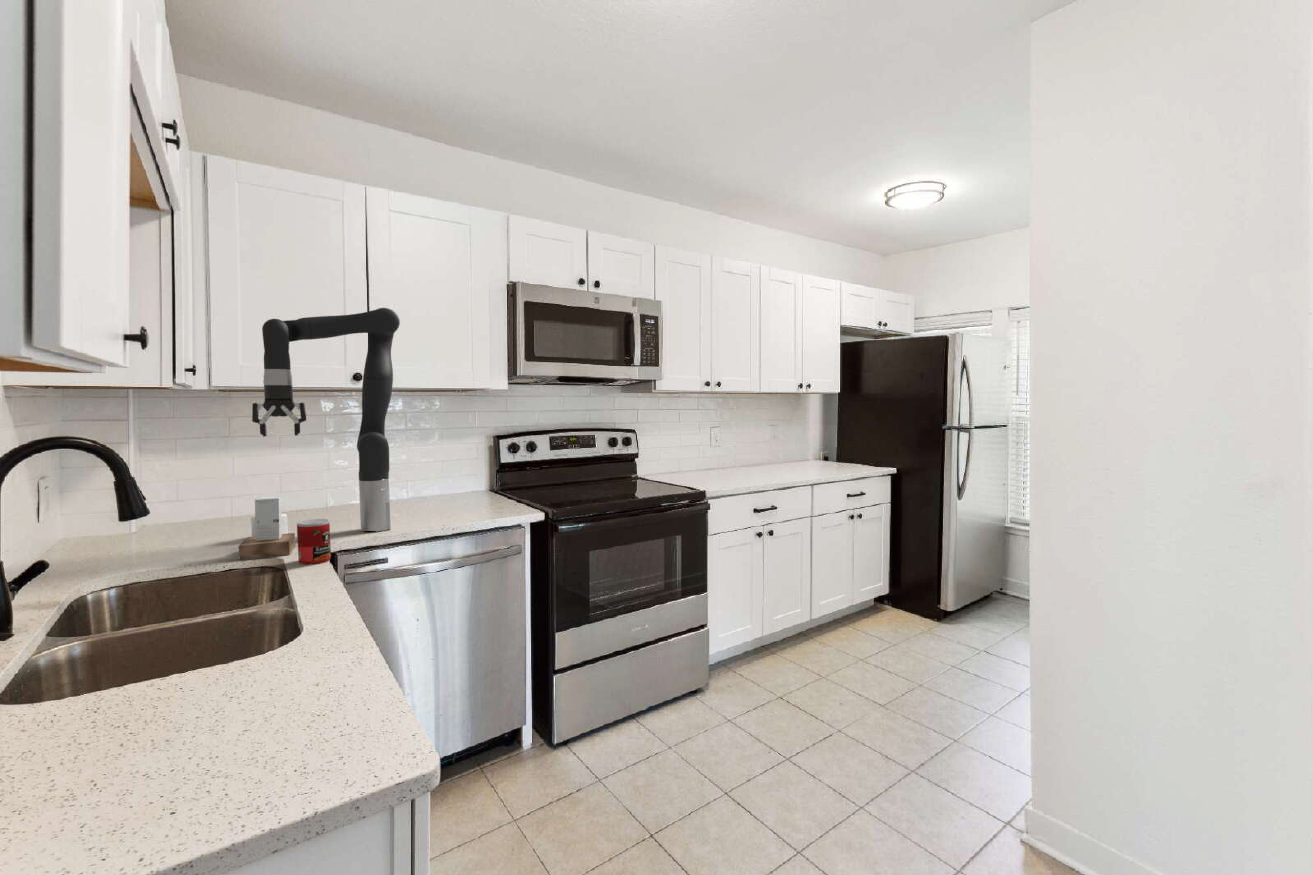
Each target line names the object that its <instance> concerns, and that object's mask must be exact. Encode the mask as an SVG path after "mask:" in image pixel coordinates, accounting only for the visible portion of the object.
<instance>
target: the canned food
mask: <svg viewBox="0 0 1313 875" xmlns="http://www.w3.org/2000/svg"><path fill="white" fill-rule="evenodd" d="M296 534H297V535H296V536H297V538H296V539H297V555H298V557H297V558H298V562H299V564H302V565H309V566H310V565H317V564H318V565H319V564H324V563H326V562H328V561H330V560H331V557H332V550H331V549H332V548H331V547H332V546H331V526H330V520H329V519H326V518H312V519H305V520H300V521H298V522H296Z"/></svg>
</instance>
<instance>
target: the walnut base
mask: <svg viewBox="0 0 1313 875" xmlns="http://www.w3.org/2000/svg"><path fill="white" fill-rule="evenodd" d="M295 547H296V534H295V532H290V533H289V532H288V534H282V536H281V538H280V539H275V540H261V541H256V536H252V535H251V536H247V537H245V539H243V541H241V543H240V544H239V545H238V559H239V561H242V560H251V559H252V560H253V559H261V558H263V559H264V558H272V557H271V556H274V557H283V556H290V555H291V553H292V552H293V551H294V548H295Z"/></svg>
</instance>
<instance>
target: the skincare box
mask: <svg viewBox="0 0 1313 875" xmlns="http://www.w3.org/2000/svg"><path fill="white" fill-rule="evenodd" d="M254 510H255V511H254V514H255V515H254V517H255V528H256V541H261V540H275V539H280V538H281V536H282V528H281V514H282V497H281V496H278V495H277V496H259V497H258V496H257V497H256V498H255V499H254Z"/></svg>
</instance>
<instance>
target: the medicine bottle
mask: <svg viewBox="0 0 1313 875" xmlns="http://www.w3.org/2000/svg"><path fill="white" fill-rule="evenodd" d="M250 521H251V525H250V526H251V537H252V536H256V528H255V516H253V517H251V518H250ZM281 528H282V534H288V533H289V532H288V531H289V530H288V529H289V528H288V514H287V513H281Z"/></svg>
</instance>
